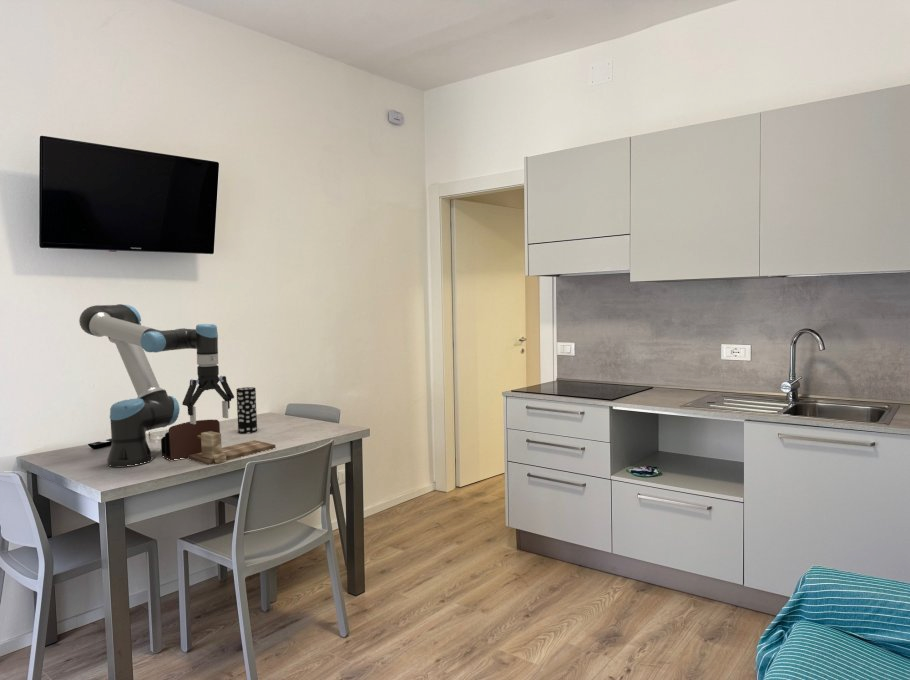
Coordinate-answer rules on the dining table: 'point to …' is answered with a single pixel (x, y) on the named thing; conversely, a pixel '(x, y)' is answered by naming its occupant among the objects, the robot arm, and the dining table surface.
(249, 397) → the white-spotted black cylinder
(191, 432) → the letter holder
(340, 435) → the dining table surface
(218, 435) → the gauge
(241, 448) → the board
